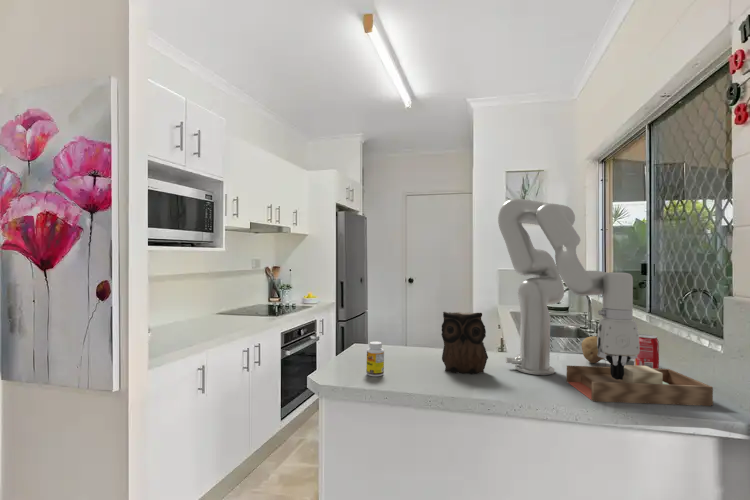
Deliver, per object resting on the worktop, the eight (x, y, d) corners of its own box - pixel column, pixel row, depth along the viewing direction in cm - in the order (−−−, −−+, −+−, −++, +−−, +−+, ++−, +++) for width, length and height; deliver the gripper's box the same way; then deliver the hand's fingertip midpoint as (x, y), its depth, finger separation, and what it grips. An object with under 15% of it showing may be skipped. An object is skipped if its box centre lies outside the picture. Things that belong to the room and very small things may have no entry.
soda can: (663, 378, 138) (663, 338, 138) (638, 376, 139) (639, 337, 140) (653, 372, 145) (653, 334, 145) (630, 370, 146) (630, 333, 146)
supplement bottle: (363, 373, 136) (364, 341, 137) (379, 371, 139) (379, 340, 139) (370, 377, 131) (371, 345, 131) (386, 376, 134) (387, 343, 134)
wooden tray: (593, 401, 114) (593, 382, 114) (566, 381, 132) (566, 365, 132) (712, 405, 112) (712, 387, 112) (669, 385, 130) (669, 369, 130)
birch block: (632, 386, 118) (632, 372, 118) (618, 378, 126) (618, 364, 126) (662, 387, 117) (662, 373, 117) (645, 379, 125) (645, 365, 125)
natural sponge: (609, 362, 157) (609, 336, 157) (607, 368, 149) (608, 339, 150) (582, 359, 162) (582, 333, 162) (579, 364, 154) (580, 336, 154)
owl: (489, 373, 139) (490, 312, 140) (459, 378, 133) (461, 314, 133) (463, 364, 150) (464, 308, 151) (435, 368, 144) (436, 309, 144)
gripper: (596, 316, 119) (596, 381, 119) (651, 317, 118) (651, 383, 118) (585, 312, 127) (584, 373, 126) (637, 313, 126) (636, 375, 125)
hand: (617, 378), depth 122 cm, fingers closed
